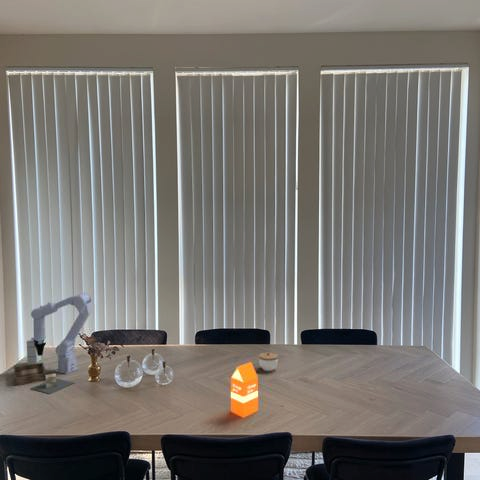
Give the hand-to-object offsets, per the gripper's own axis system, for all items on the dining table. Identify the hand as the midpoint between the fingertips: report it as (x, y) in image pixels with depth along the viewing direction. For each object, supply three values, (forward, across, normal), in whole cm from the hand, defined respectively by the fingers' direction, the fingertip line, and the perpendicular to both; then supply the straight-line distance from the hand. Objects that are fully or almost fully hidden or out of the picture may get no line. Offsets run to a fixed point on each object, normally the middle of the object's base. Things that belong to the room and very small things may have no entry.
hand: (39, 353), depth 210 cm
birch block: (+9, +28, +3) cm, 30 cm away
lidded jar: (+10, +66, +109) cm, 128 cm away
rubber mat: (+9, +28, +4) cm, 30 cm away
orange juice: (+10, +101, +72) cm, 124 cm away
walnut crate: (+9, +8, -5) cm, 13 cm away
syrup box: (+10, -14, -2) cm, 17 cm away
